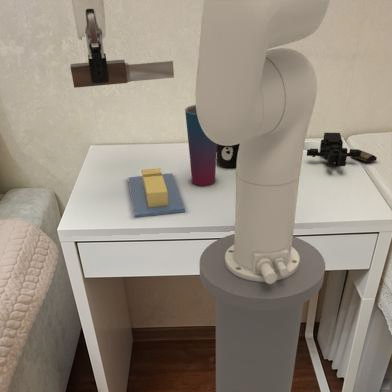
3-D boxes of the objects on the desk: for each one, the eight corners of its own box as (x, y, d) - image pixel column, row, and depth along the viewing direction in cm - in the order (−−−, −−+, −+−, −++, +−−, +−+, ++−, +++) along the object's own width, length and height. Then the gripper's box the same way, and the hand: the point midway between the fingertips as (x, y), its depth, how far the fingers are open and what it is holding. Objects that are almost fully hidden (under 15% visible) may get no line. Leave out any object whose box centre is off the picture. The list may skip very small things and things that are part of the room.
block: (366, 165, 114) (367, 157, 113) (348, 157, 118) (349, 149, 117) (377, 161, 115) (379, 153, 114) (359, 153, 119) (360, 146, 118)
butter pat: (162, 186, 107) (161, 172, 105) (144, 188, 106) (142, 174, 104) (161, 181, 109) (160, 167, 107) (143, 183, 108) (141, 169, 106)
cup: (223, 177, 111) (224, 105, 101) (211, 189, 106) (210, 115, 96) (196, 173, 113) (193, 102, 103) (182, 185, 109) (179, 112, 99)
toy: (310, 154, 108) (306, 128, 118) (307, 175, 111) (304, 148, 122) (367, 155, 106) (358, 129, 117) (362, 177, 110) (354, 149, 120)
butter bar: (168, 205, 100) (167, 191, 98) (148, 207, 99) (147, 193, 97) (163, 189, 106) (162, 175, 104) (144, 190, 105) (143, 177, 103)
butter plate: (184, 212, 99) (184, 208, 99) (134, 217, 98) (134, 213, 98) (172, 176, 112) (172, 172, 112) (128, 180, 111) (127, 177, 111)
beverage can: (213, 167, 116) (212, 112, 108) (221, 157, 120) (221, 103, 112) (240, 170, 114) (242, 114, 106) (247, 159, 119) (249, 105, 111)
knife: (74, 84, 95) (70, 63, 92) (173, 75, 96) (171, 55, 94) (74, 87, 93) (70, 66, 90) (174, 78, 95) (173, 58, 92)
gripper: (61, -46, 87) (80, 71, 99) (57, -39, 75) (80, 93, 87) (104, -48, 88) (118, 68, 100) (107, -42, 76) (122, 90, 88)
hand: (100, 79), depth 94 cm, fingers closed on knife, 2 cm apart
